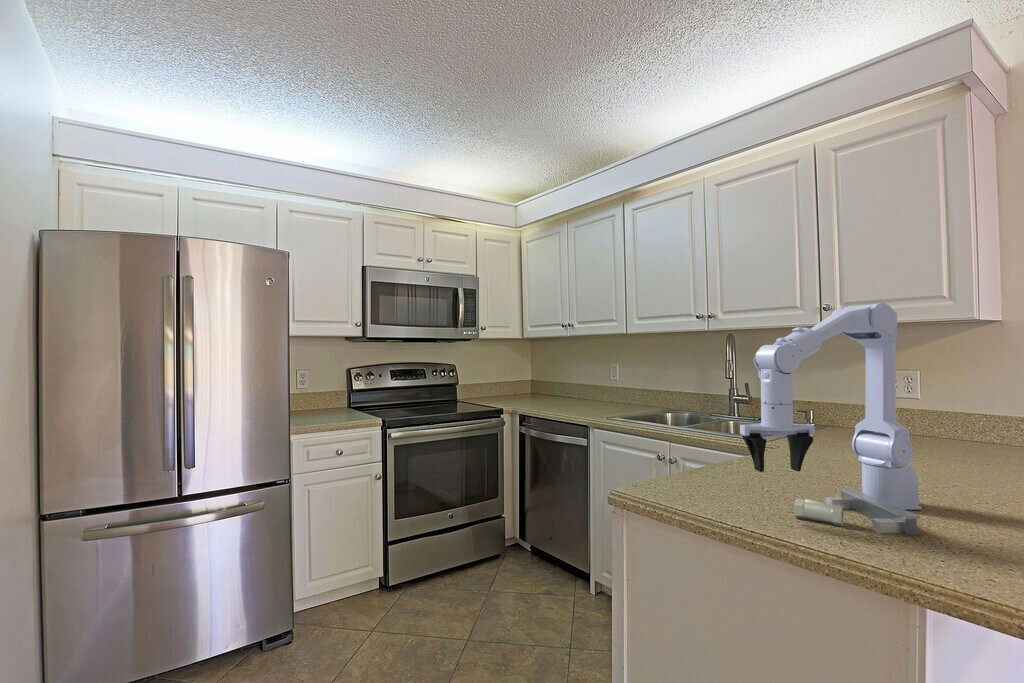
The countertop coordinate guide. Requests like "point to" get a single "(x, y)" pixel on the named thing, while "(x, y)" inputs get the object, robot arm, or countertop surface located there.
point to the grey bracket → (877, 512)
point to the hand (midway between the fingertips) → (777, 470)
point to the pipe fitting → (818, 511)
